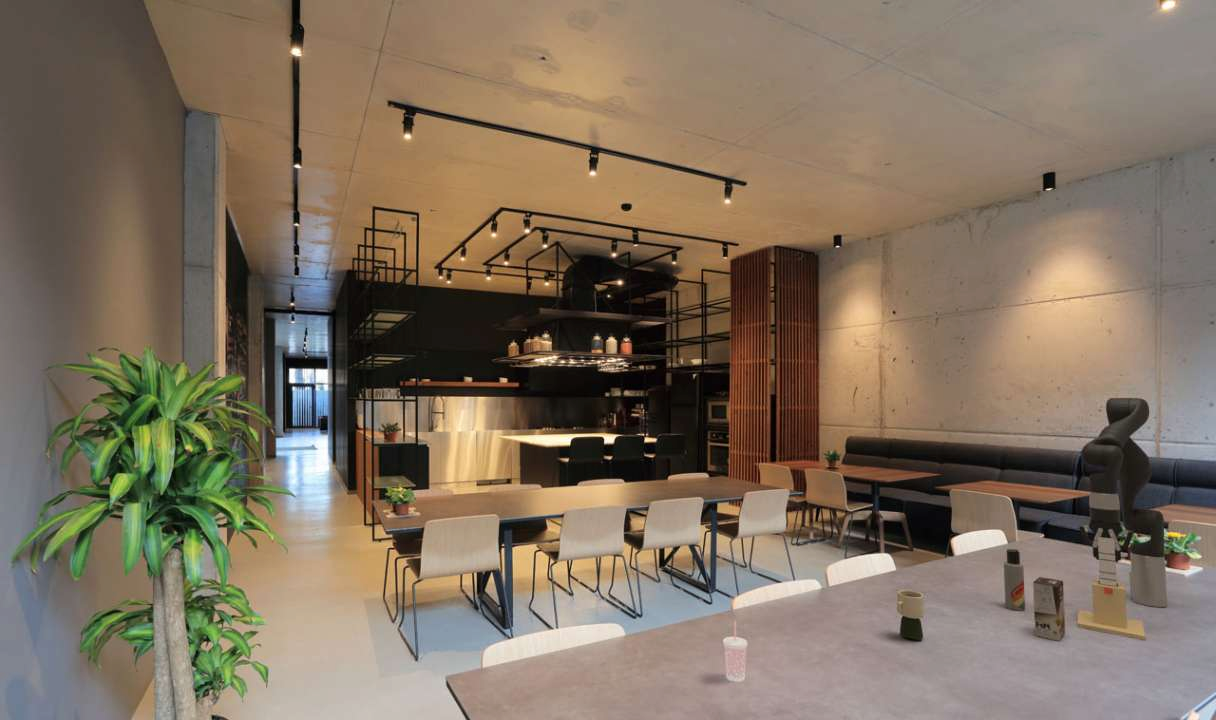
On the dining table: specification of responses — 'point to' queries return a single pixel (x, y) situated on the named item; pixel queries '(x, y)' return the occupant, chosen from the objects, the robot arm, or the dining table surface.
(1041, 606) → the coffee box
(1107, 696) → the dining table surface
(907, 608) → the character mug
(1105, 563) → the column
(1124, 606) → the stand
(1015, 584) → the lotion bottle
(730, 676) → the beverage cup
